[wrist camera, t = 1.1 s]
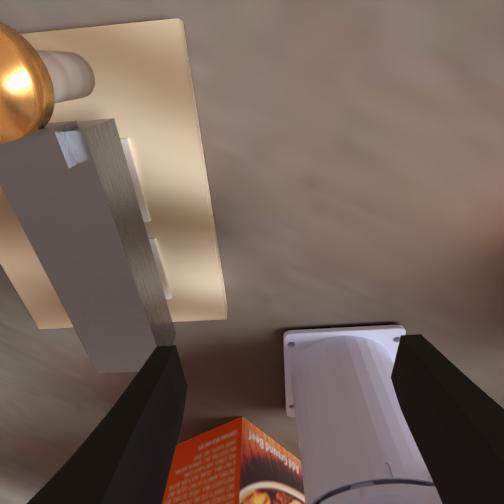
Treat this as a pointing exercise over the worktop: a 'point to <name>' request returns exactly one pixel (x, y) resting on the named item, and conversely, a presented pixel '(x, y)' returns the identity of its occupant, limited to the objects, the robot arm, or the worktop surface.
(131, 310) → the swing bar
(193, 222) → the tan piece
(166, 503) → the cereal box
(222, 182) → the worktop surface
